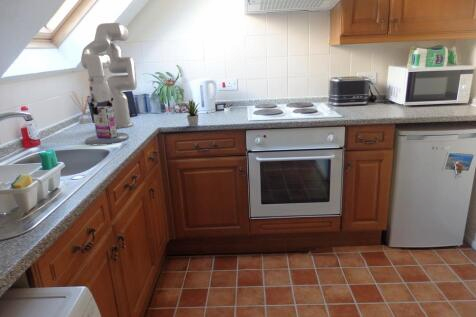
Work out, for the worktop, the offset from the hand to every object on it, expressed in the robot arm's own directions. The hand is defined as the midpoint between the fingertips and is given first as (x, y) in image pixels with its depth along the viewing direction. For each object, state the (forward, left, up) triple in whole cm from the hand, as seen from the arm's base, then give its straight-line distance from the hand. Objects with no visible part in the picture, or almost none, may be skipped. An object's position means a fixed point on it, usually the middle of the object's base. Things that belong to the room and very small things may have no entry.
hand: (103, 112), depth 189 cm
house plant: (+25, +44, -15) cm, 53 cm away
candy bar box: (0, 0, -14) cm, 14 cm away
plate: (0, 0, -15) cm, 15 cm away
